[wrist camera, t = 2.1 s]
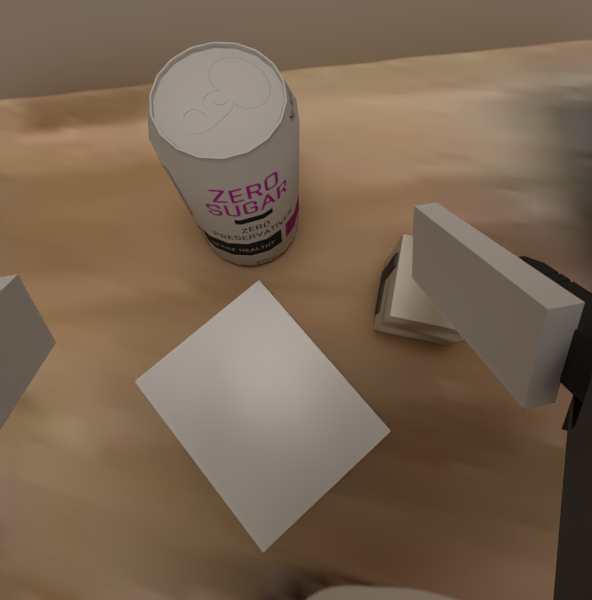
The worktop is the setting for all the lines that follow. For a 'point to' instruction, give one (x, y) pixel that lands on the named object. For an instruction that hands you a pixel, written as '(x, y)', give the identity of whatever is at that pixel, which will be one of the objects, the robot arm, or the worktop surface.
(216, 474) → the grey board
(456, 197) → the worktop surface
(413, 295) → the letter block
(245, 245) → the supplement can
